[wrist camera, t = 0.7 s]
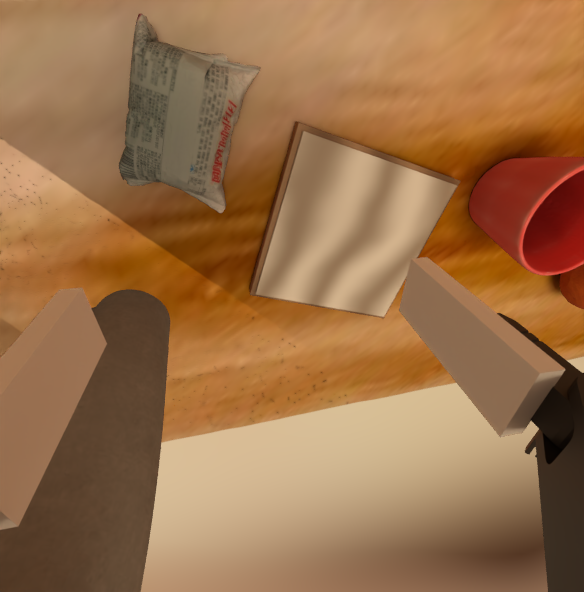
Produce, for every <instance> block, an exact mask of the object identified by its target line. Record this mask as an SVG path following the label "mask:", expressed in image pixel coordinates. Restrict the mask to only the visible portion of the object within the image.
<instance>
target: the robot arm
mask: <svg viewBox="0 0 584 592" xmlns="http://www.w3.org/2000/svg"><path fill="white" fill-rule="evenodd" d="M399 311H400V312H401V314H402V315H403V316H404V317H405V319H406V320H407V321H408V322H409V324H410V325H411V326H412V327H413V329H414V330H415V331H416V332H417V334H418V335H419V336H420V337H421V339H422V340H423V341H424V342H425V344H426V345H427V346H428V347H429V349H430V350H431V351H432V352H433V354H434V355H435V356H436V357H437V359H438V360H439V361H440V362H441V364H442V365H443V366H444V367H445V369H446V370H447V371H448V372H449V374H450V375H451V376H452V377H453V379H454V380H455V381H456V382H457V384H458V385H459V386H460V387H461V389H462V390H463V391H464V392H465V394H466V395H467V396H468V397H469V399H470V400H471V401H472V402H473V404H474V405H475V406H476V407H477V409H478V410H479V411H480V412H481V414H482V415H483V416H484V417H485V418H486V420H487V421H488V422H489V424H490V425H491V426H492V427H493V429H494V430H495V431H496V432H497V434H498V435H499V436H500V437H503V436H509V435H514V434H519V433H523V431H524V430H525V428H526V427H527V425H528V424H529V422H530V421H531V420H532V422H533V423H534V424H535V425H536V426H537V427H538V428H539V430H538V432H537V433H536V434H535V436H534V437H533V438H532V440H531V441H530V442H529V444H528V445H527V447H526V450H525V453H527V454H530V452H531V451H532V450H533V448H534V447H536V452H537V455H536V456H535V457H537V464H538V475H539V488H540V499H541V512H542V522H543V523H542V524H543V536H544V548H545V559H546V572H547V583H548V592H584V373H582V372H580V371H579V370H578V369H576V368H575V367H574V366H573V365H571V364H570V363H569V362H567V361H566V360H565V359H564V358H562V357H561V356H560V355H558V354H557V353H556V352H555V351H553V350H552V349H551V348H550V347H548V346H547V345H546V344H544V343H543V342H542V341H539V339H538V338H537V337H535V336H534V335H533V334H532V333H528V330H527V329H525V328H524V327H523V326H521V325H520V324H519V323H518V322H516V321H515V320H513V319H511V318H509V317H507V316H505V315H503V314H501V313H495V312H494V311H493V310H492V309H491V308H489V307H488V306H487V305H486V304H484V303H483V302H482V301H481V300H479V299H478V298H477V297H476V296H474V295H473V294H472V293H471V292H469V291H468V290H467V289H466V288H465V287H463V286H462V285H461V284H460V283H458V282H457V281H456V280H455V279H453V278H452V277H451V276H450V275H448V274H447V273H446V272H445V271H444V270H442V269H441V268H440V267H439V266H437V265H436V264H435V263H434V262H432V261H431V260H430V259H429V258H427V257H426V258H414V259H411V261H410V265H409V269H408V274H407V278H406V283H405V287H404V291H403V296H402V300H401V304H400V309H399ZM106 345H107V343H106V340H105V338H104V336H103V334H102V331H101V329H100V327H99V325H98V322H97V320H96V318H95V316H94V313H93V311H92V309H91V307H90V304H89V302H88V300H87V298H86V295H85V293H84V291H83V289H82V288H74V289H63V290H59V291H58V292H57V293H56V294H55V296H54V297H53V298H52V299H51V300H50V301H49V303H48V304H47V305H46V306H45V307H44V308H43V310H42V311H41V312H40V313H39V314H38V315H37V316H36V318H35V319H34V320H33V321H32V322H31V323H30V325H29V326H28V327H27V328H26V329H25V330H24V332H23V333H22V334H21V335H20V336H19V337H18V338H17V340H16V341H15V342H14V343H13V344H12V345H11V347H10V348H9V349H8V350H7V351H6V352H5V354H4V355H3V356H2V357H1V358H0V530H2V529H8V528H13V527H18V526H19V524H20V522H21V520H22V518H23V516H24V514H25V512H26V510H27V508H28V506H29V504H30V501H31V499H32V497H33V495H34V493H35V491H36V489H37V487H38V485H39V483H40V481H41V479H42V477H43V475H44V473H45V471H46V468H47V466H48V464H49V462H50V460H51V458H52V456H53V454H54V452H55V450H56V448H57V446H58V444H59V442H60V440H61V437H62V435H63V433H64V431H65V429H66V427H67V425H68V423H69V421H70V419H71V417H72V415H73V413H74V411H75V409H76V407H77V404H78V402H79V400H80V398H81V396H82V394H83V392H84V390H85V388H86V386H87V384H88V382H89V380H90V378H91V376H92V374H93V371H94V369H95V367H96V365H97V363H98V361H99V359H100V357H101V355H102V353H103V351H104V349H105V347H106Z"/></svg>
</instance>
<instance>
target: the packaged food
mask: <svg viewBox="0 0 584 592" xmlns="http://www.w3.org/2000/svg"><path fill="white" fill-rule="evenodd" d="M151 26H152V25H151V24H150V23H149V22H148V20H147V17H146V16H144V15H143V14H139V15H138V18H137V22H136V27H135V32H134V41H133V50H132V60H131V72H130V88H129V101H128V108H129V112H128V115H127V120H126V132H125V135H126V139H125V145H126V148H125V149H124V152H123V154H122V157H121V159H120V162H119V169H120V173H121V176H122V178H123V180H124V179H125V180H126V181H127V184H129V185H130V186H140V185H142V186H143V185H145V184H149V183H152V182H162V183H165V184H167V185H169V186H173V187H176V188H179V189H181V190H183V191H184V192H186V193H188V194H190V195H191V196H193V197H195V198H197V199H198V200H200V201H201V202H204V203H205V204H207V205H208V206H210V207H211V208H213V209H215V210H216V211H217V212H219V213H223V211H224V210H225V207H226V201H225V195H224V189H223V186H222V180H223V178H224V173H225V168H226V165H227V161H228V155H229V151H230V143H231V135H232V134H231V133H232V132H233V126H234V125H235V124H236V123H237V121H238V117H239V113H240V110H241V106H242V102H243V98H244V95H245V94H246V92H247V90H248V88H249V86H250V85H251V83H252V81H253V79H254V78H255V77H256V75H257V74H258V73H259V71H260V69H261V68H260V67H258V66H252V65H243V64H240V63H232V62H229V61H228V60H227V59H228V58H227V56H226V55H225V54H212V55H210V54H205V53H199V52H194V51H190V50H186V49H183V48H179V47H175V46H172V45H170V44H167V43H162V42H158V38H157V35H156V32H155V31H154V29H153V27H151Z"/></svg>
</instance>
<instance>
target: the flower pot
mask: <svg viewBox="0 0 584 592" xmlns="http://www.w3.org/2000/svg"><path fill="white" fill-rule="evenodd" d="M469 212H470V215H471V218H472V220H473V221H474V222H475V223H476V224H477V225H478V226H479V227H480V228H481V229H482V230H483V231H484V232H485V233H486V234H487V235H488V236H490V237H491V238H492V239H493V240H494V241H495V242H496V243H497V244H498V245H499V246H500V247H501V248H502V249H503V250H505V251H506V252H507V253H508V254H509V255H510V256H511V257H512V258H513V259H515V260H516V261H517V262H518V263H519V264H520V265H522V266H523V267H524V268H525V269H527V270H528V271H530V272H532V273H535V274H538V275H556V274H561V273H564V272H567V271H570V270H572V269H575V268H577V267H578V266H580V265H582V264H584V157H534V158H513V159H508V160H505V161H502V162H500V163H498V164H497V165H495V166H494V167H492V168H491V169H490V170H488V171H487V172H486V173H485V174H484V175H483V176H482V177H481V178H480V180H479V181H478V183H477V184H476V186H475V188H474V189H473V192H472V194H471V197H470V202H469Z"/></svg>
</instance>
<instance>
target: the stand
mask: <svg viewBox="0 0 584 592" xmlns="http://www.w3.org/2000/svg"><path fill="white" fill-rule="evenodd" d="M459 183H460V181H459V180H456V179H454V178H451V177H448V176H446V175H443V174H440V173H437V172H434V171H432V170H429V169H426V168H423V167H421V166H418V165H415V164H412V163H410V162H407V161H404V160H401V159H399V158H396V157H393V156H390V155H387V154H385V153H382V152H379V151H376V150H374V149H371V148H368V147H365V146H363V145H360V144H357V143H354V142H352V141H349V140H346V139H343V138H341V137H338V136H335V135H332V134H329V133H327V132H324V131H321V130H318V129H316V128H313V127H310V126H307V125H305V124H302V123H299V122H296V123H295V126H294V130H293V133H292V137H291V141H290V144H289V148H288V151H287V155H286V159H285V162H284V166H283V169H282V173H281V177H280V180H279V184H278V187H277V191H276V194H275V198H274V202H273V205H272V209H271V212H270V216H269V220H268V223H267V227H266V230H265V234H264V237H263V241H262V245H261V248H260V252H259V255H258V259H257V263H256V266H255V270H254V273H253V277H252V280H251V284H250V288H249V290H250V295H253V296H259V297H265V298H271V299H276V300H282V301H288V302H294V303H299V304H305V305H311V306H317V307H322V308H328V309H334V310H340V311H345V312H351V313H357V314H363V315H368V316H374V317H380V318H384V317H385V315H386V314H387V312H388V310H389V308H390V306H391V305H392V303H393V301H394V299H395V297H396V296H397V294H398V292H399V290H400V288H401V287H402V285H403V283H404V281H405V280H406V278H407V274H408V269H409V265H410V261H411V259H414V258H418V256H419V254H420V253H421V251H422V249H423V247H424V246H425V244H426V242H427V240H428V238H429V237H430V235H431V233H432V231H433V229H434V228H435V226H436V224H437V222H438V220H439V219H440V217H441V215H442V213H443V212H444V210H445V208H446V206H447V204H448V203H449V201H450V199H451V197H452V195H453V194H454V192H455V190H456V188H457V186H458V185H459Z"/></svg>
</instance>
